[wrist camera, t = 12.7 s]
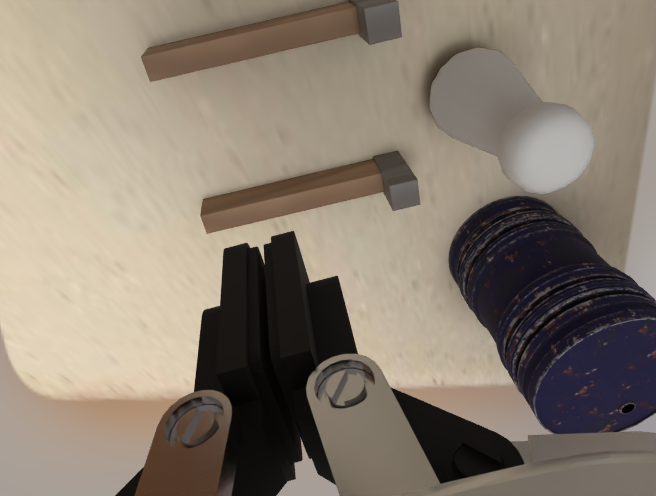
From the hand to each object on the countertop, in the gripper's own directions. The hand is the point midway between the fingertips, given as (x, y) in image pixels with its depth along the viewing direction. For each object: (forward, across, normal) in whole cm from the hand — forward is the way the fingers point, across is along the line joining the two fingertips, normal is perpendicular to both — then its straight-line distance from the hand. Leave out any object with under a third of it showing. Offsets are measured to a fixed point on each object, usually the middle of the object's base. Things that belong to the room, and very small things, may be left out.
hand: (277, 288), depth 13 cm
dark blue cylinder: (+24, -15, +20) cm, 34 cm away
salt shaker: (+24, -13, +5) cm, 28 cm away
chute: (+24, -1, +4) cm, 24 cm away
